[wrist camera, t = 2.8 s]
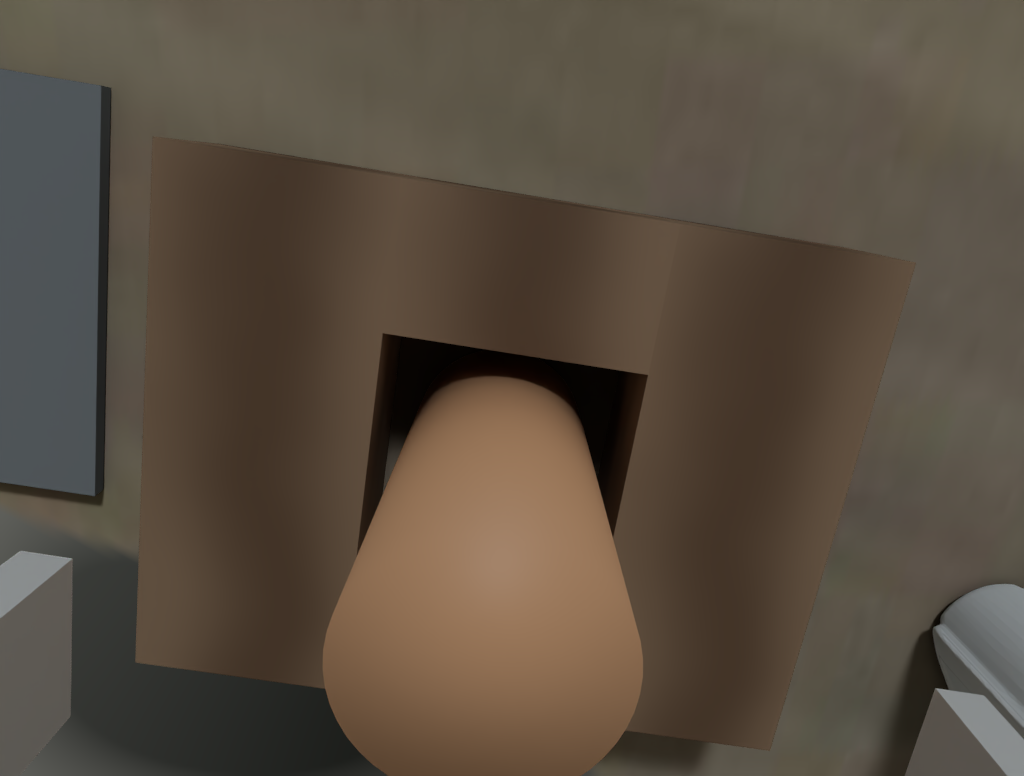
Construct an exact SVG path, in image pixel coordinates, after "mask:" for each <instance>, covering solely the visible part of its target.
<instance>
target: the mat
mask: <svg viewBox="0 0 1024 776" xmlns="http://www.w3.org/2000/svg"><path fill="white" fill-rule="evenodd" d="M110 99H111V88H109V87H105V86H100V85H94V84H88V83H82V82H76V81H70V80H64V79H58V78H52V77H46V76H40V75H34V74H28V73H22V72H16V71H10V70H4V69H0V482H3V483H9V484H16V485H23V486H30V487H36V488H43V489H50V490H57V491H64V492H70V493H77V494H84V495H91V496H96V495H97V494H98V493H100V492H101V491H102V490H103V477H104V423H105V369H106V315H107V261H108V207H109V153H110Z"/></svg>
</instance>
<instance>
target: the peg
mask: <svg viewBox="0 0 1024 776" xmlns="http://www.w3.org/2000/svg"><path fill="white" fill-rule="evenodd" d="M323 677H324V685H325V689H326V693H327V697H328V700H329V704H330V706H331V708H332V711H333V713H334V715H335V717H336V720H337V722H338V723H339V725H340V726H341V728H342V730H343V731H344V733H345V735H346V736H347V738H348V739H349V740H350V741H351V742H352V743H353V745H354V746H355V747H356V749H357V750H358V751H359V752H360V753H361V754H362V755H363V756H364V757H365V758H366V759H367V760H368V761H369V762H370V763H372V764H373V765H374V766H376V767H377V768H378V769H380V770H381V771H382V772H384V773H385V774H386V775H388V776H581V775H582V774H584V773H585V772H587V771H588V770H590V769H591V768H592V767H593V766H595V765H596V764H597V763H598V762H599V761H600V760H601V759H603V758H604V757H605V756H606V755H607V753H608V752H609V751H610V750H611V749H612V748H613V747H614V746H615V744H616V743H617V742H618V740H619V739H620V737H621V736H622V734H623V733H624V731H625V730H626V728H627V726H628V724H629V722H630V720H631V718H632V716H633V714H634V712H635V709H636V706H637V703H638V699H639V696H640V692H641V686H642V679H643V655H642V648H641V641H640V637H639V633H638V630H637V626H636V622H635V618H634V615H633V611H632V607H631V603H630V600H629V596H628V592H627V589H626V585H625V581H624V577H623V574H622V570H621V566H620V563H619V559H618V555H617V551H616V548H615V544H614V540H613V537H612V533H611V529H610V525H609V522H608V518H607V514H606V510H605V507H604V503H603V499H602V496H601V492H600V488H599V484H598V481H597V477H596V473H595V470H594V466H593V462H592V458H591V455H590V451H589V447H588V444H587V440H586V436H585V432H584V429H583V425H582V421H581V417H580V414H579V410H578V407H577V403H576V400H575V398H574V396H573V394H572V391H571V390H570V388H569V387H568V385H567V383H566V382H565V381H564V380H563V378H562V377H561V376H560V375H559V374H558V373H557V372H556V371H555V370H554V369H553V368H552V367H550V366H549V365H548V364H546V363H545V362H543V361H542V360H540V359H538V358H536V357H531V356H525V355H518V354H512V353H506V352H499V351H493V350H482V351H478V352H474V353H471V354H468V355H466V356H464V357H461V358H459V359H458V360H456V361H454V362H453V363H451V364H450V365H448V366H447V367H446V368H445V369H443V370H442V371H441V372H440V373H439V374H438V375H437V377H436V378H435V379H434V380H433V382H432V383H431V384H430V386H429V387H428V389H427V391H426V393H425V395H424V397H423V400H422V402H421V404H420V407H419V409H418V411H417V414H416V416H415V419H414V421H413V423H412V426H411V428H410V431H409V433H408V435H407V438H406V440H405V443H404V445H403V447H402V450H401V452H400V454H399V457H398V459H397V462H396V464H395V466H394V469H393V471H392V474H391V476H390V478H389V481H388V483H387V486H386V488H385V490H384V493H383V495H382V497H381V500H380V502H379V505H378V507H377V509H376V512H375V514H374V517H373V519H372V521H371V524H370V526H369V529H368V531H367V533H366V536H365V538H364V540H363V543H362V545H361V548H360V550H359V552H358V555H357V557H356V560H355V562H354V564H353V567H352V569H351V572H350V574H349V576H348V579H347V581H346V583H345V586H344V588H343V591H342V593H341V595H340V598H339V600H338V603H337V605H336V607H335V610H334V612H333V615H332V617H331V620H330V623H329V626H328V629H327V632H326V637H325V642H324V648H323Z"/></svg>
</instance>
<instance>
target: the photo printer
mask: <svg viewBox="0 0 1024 776" xmlns="http://www.w3.org/2000/svg"><path fill="white" fill-rule="evenodd" d="M932 633H933V639H934V645H935V650H936V654H937V658H938V661H939V664H940V667H941V670H942V673H943V675H944V678H945V681H946V683H947V686H948V689H949V690H951V691H958V692H964V693H971V694H978V695H984V696H985V697H986V698H987V699H988V700H989V701H990V703H991V704H992V705H993V706H994V707H995V708H996V709H997V710H998V711H999V713H1000V714H1001V715H1002V716H1003V717H1004V718H1005V719H1006V720H1007V721H1008V723H1009V724H1010V725H1011V726H1012V727H1013V728H1014V729H1015V730H1016V731H1017V732H1018V734H1019V735H1020V736H1021V737H1022V738H1023V739H1024V588H1020V587H1018V586H1016V585H1013V584H995V585H989V586H985V587H981V588H978V589H975V590H973V591H971V592H969V593H967V594H965V595H963V596H962V597H960V598H959V599H957V600H956V601H955V602H953V603H952V604H951V605H950V606H949V607H948V608H947V609H946V610H945V611H944V613H943V614H942V615H941V618H940V625H937V626H935V627H933V632H932Z"/></svg>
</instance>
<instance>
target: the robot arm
mask: <svg viewBox="0 0 1024 776" xmlns="http://www.w3.org/2000/svg"><path fill="white" fill-rule="evenodd" d="M72 565H73V559H72V558H65V557H58V556H52V555H45V554H39V553H32V552H26V551H20V552H18V553H17V554H15V555H14V556H13V557H11V558H10V559H9V560H7V561H6V562H4V563H3V564H2V565H0V776H20V774H21V773H22V772H23V771H24V770H25V769H26V768H27V766H28V765H29V764H30V763H31V762H32V761H33V759H34V758H35V757H36V756H37V755H38V754H39V752H40V751H41V750H42V749H43V748H44V746H45V745H46V744H47V743H48V742H49V741H50V739H51V738H52V737H53V736H54V735H55V734H56V732H57V731H58V730H59V729H60V728H61V727H62V725H63V724H64V723H65V722H66V721H67V720H68V718H69V717H70V716H71V643H72V642H71V641H72ZM905 776H1024V739H1023V738H1022V737H1021V736H1020V735H1019V734H1018V732H1017V731H1016V730H1015V729H1014V728H1013V727H1012V726H1011V725H1010V724H1009V723H1008V721H1007V720H1006V719H1005V718H1004V717H1003V716H1002V715H1001V714H1000V713H999V711H998V710H997V709H996V708H995V707H994V706H993V705H992V704H991V703H990V701H989V700H988V699H987V698H986V697H985V696H984V695H978V694H971V693H964V692H958V691H951V690H944V689H938V688H935V691H934V693H933V696H932V699H931V702H930V705H929V708H928V710H927V713H926V716H925V719H924V722H923V725H922V728H921V730H920V733H919V736H918V739H917V742H916V745H915V747H914V750H913V753H912V756H911V759H910V762H909V764H908V767H907V770H906V773H905Z"/></svg>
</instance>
